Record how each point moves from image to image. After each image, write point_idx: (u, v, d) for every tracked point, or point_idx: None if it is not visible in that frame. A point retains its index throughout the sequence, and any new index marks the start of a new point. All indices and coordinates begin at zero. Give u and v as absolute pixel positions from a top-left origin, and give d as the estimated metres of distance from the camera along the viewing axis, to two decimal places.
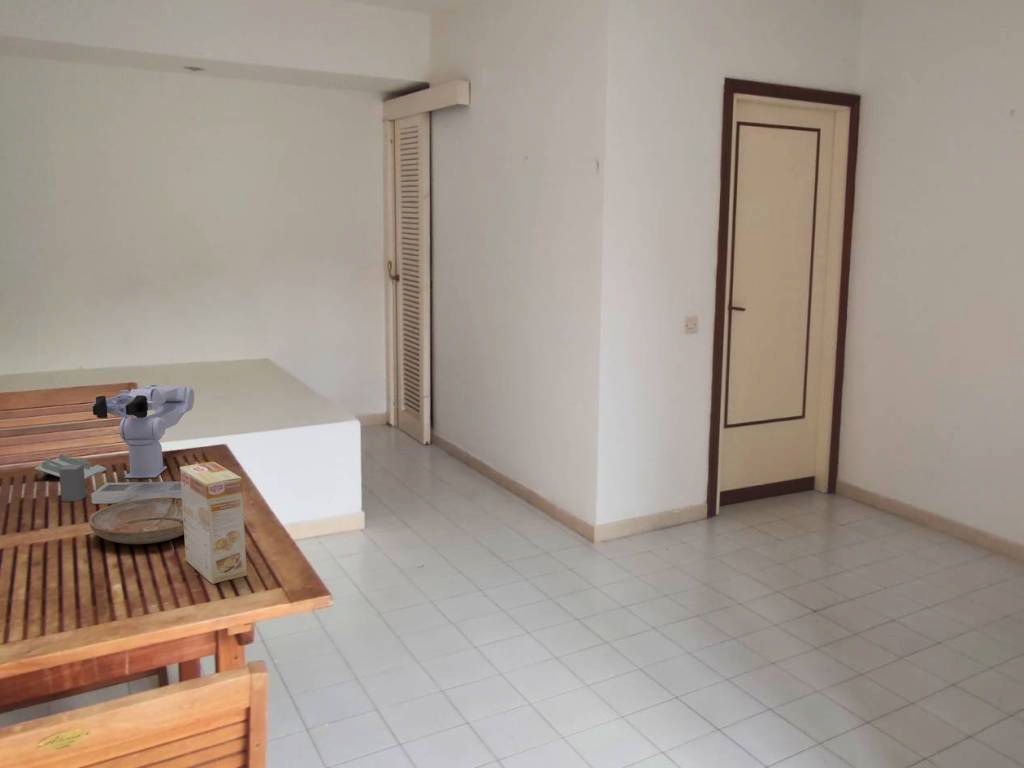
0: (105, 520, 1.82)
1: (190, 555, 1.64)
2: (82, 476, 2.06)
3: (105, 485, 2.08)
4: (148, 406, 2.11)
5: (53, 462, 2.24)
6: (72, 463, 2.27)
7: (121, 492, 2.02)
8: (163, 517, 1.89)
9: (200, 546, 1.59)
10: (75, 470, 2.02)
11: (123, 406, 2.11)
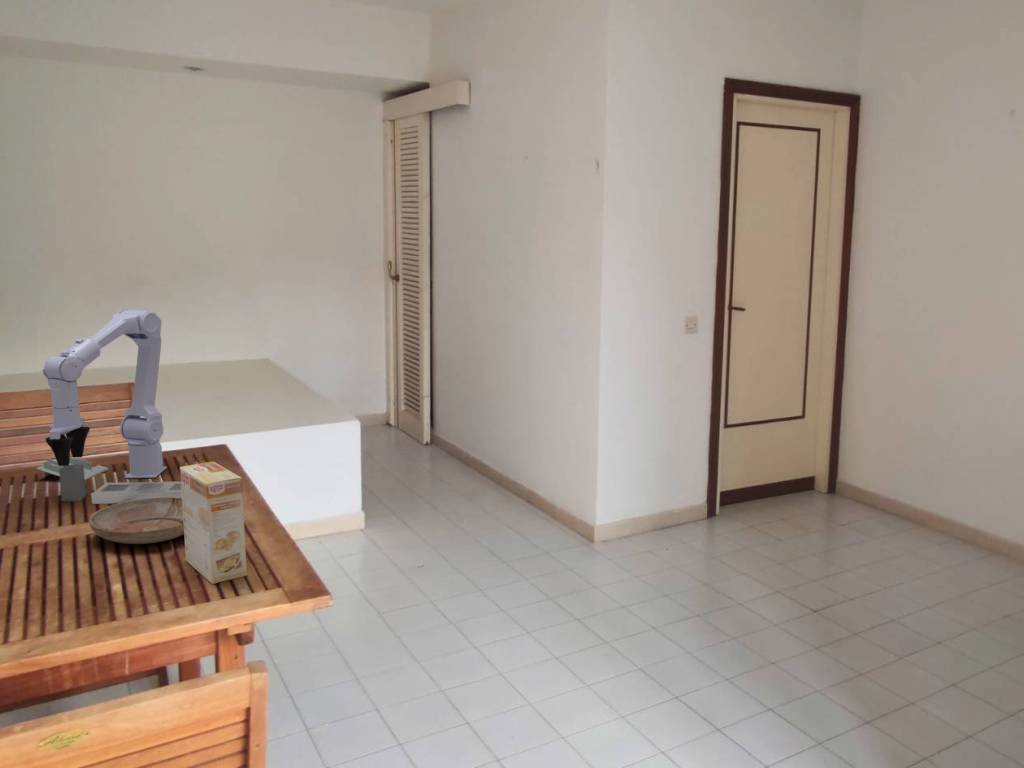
0: (105, 519, 1.82)
1: (190, 555, 1.64)
2: (82, 476, 2.06)
3: (105, 485, 2.08)
4: None
5: (55, 462, 2.24)
6: (74, 463, 2.27)
7: (121, 492, 2.02)
8: (163, 517, 1.89)
9: (200, 546, 1.59)
10: (75, 470, 2.02)
11: (67, 432, 2.02)
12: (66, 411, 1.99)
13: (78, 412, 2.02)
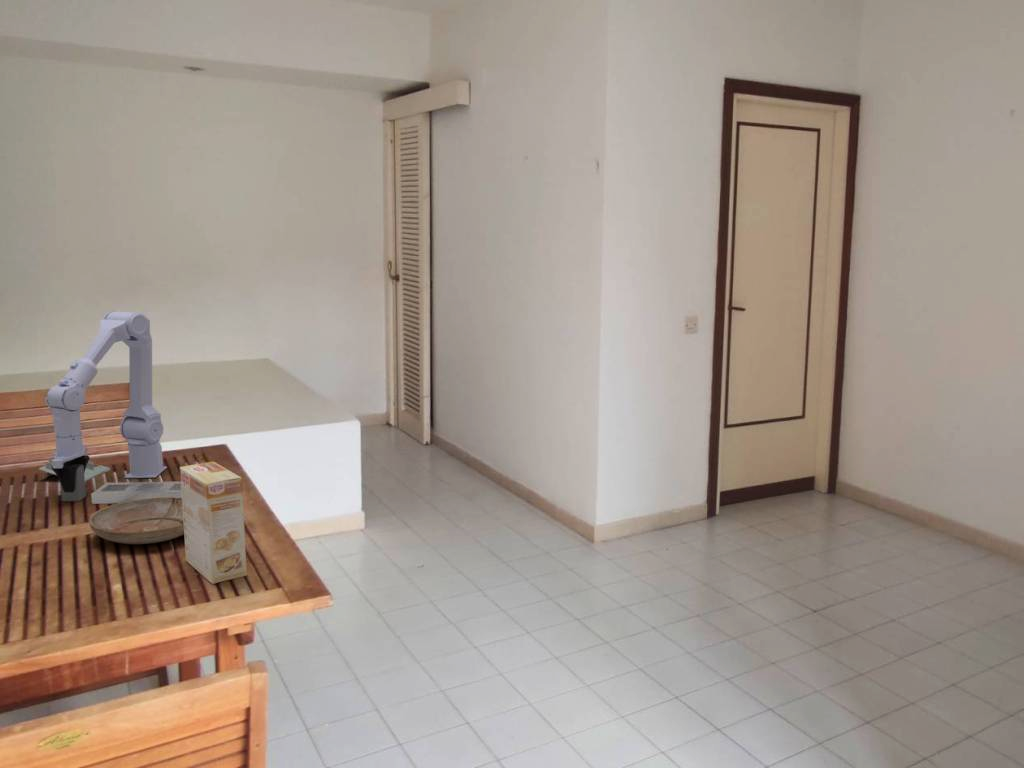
0: (105, 519, 1.82)
1: (190, 555, 1.64)
2: (82, 476, 2.06)
3: (105, 485, 2.08)
4: None
5: None
6: None
7: (121, 492, 2.02)
8: (164, 517, 1.89)
9: (200, 546, 1.59)
10: None
11: (70, 460, 2.04)
12: (69, 440, 2.00)
13: (80, 440, 2.03)
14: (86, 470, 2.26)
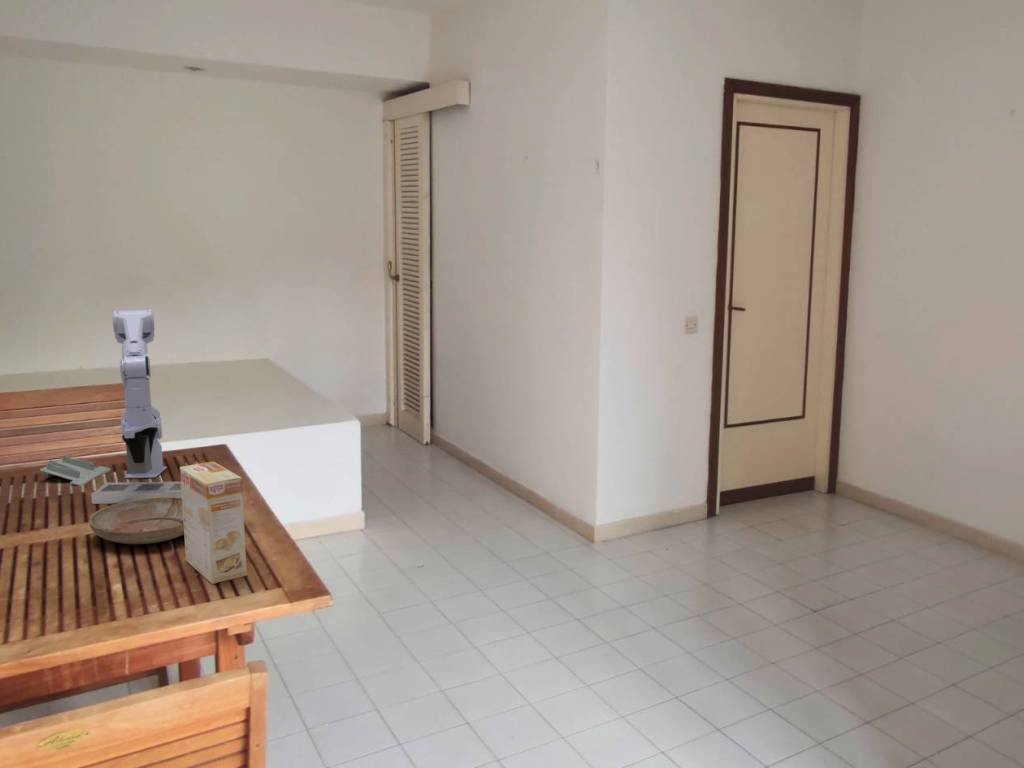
0: (105, 520, 1.82)
1: (190, 555, 1.64)
2: (148, 448, 2.06)
3: (105, 485, 2.08)
4: None
5: (57, 464, 2.23)
6: (76, 464, 2.26)
7: (121, 492, 2.02)
8: (164, 517, 1.89)
9: (200, 546, 1.59)
10: None
11: (139, 431, 2.03)
12: (139, 410, 2.00)
13: (150, 411, 2.03)
14: (87, 471, 2.25)
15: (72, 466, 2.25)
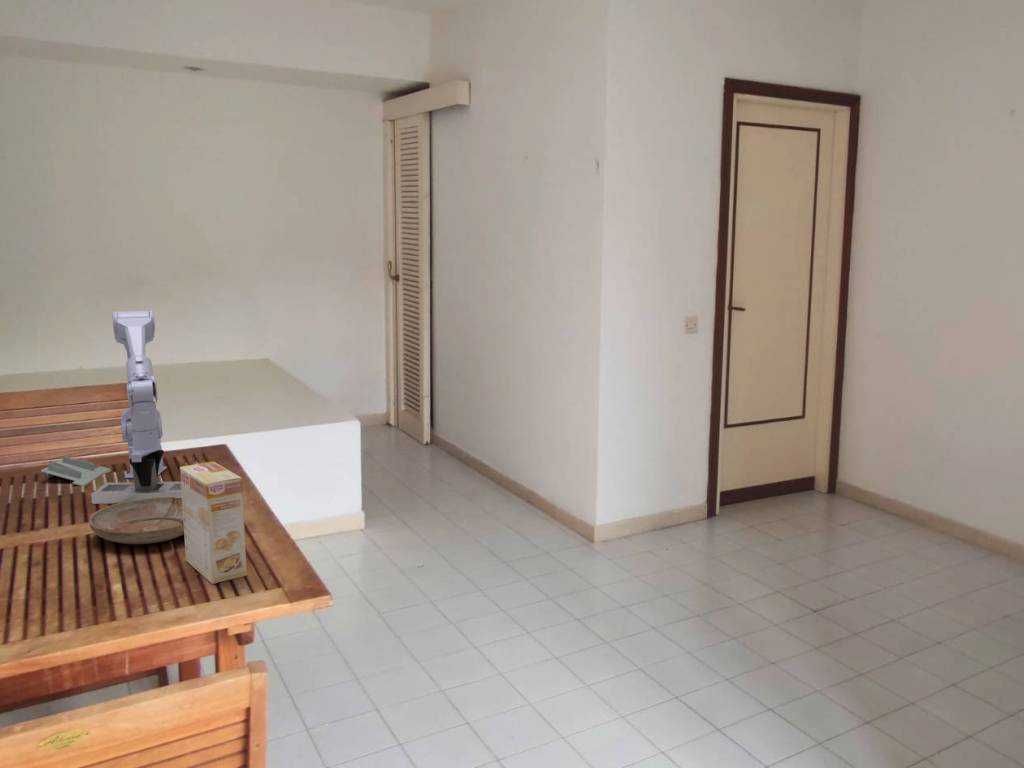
0: (105, 519, 1.82)
1: (190, 555, 1.64)
2: (154, 471, 2.07)
3: (105, 485, 2.08)
4: None
5: (58, 464, 2.22)
6: (76, 465, 2.26)
7: (121, 492, 2.02)
8: (164, 517, 1.89)
9: (200, 546, 1.59)
10: None
11: (146, 454, 2.05)
12: (146, 434, 2.01)
13: (157, 435, 2.04)
14: (88, 471, 2.25)
15: (72, 467, 2.25)
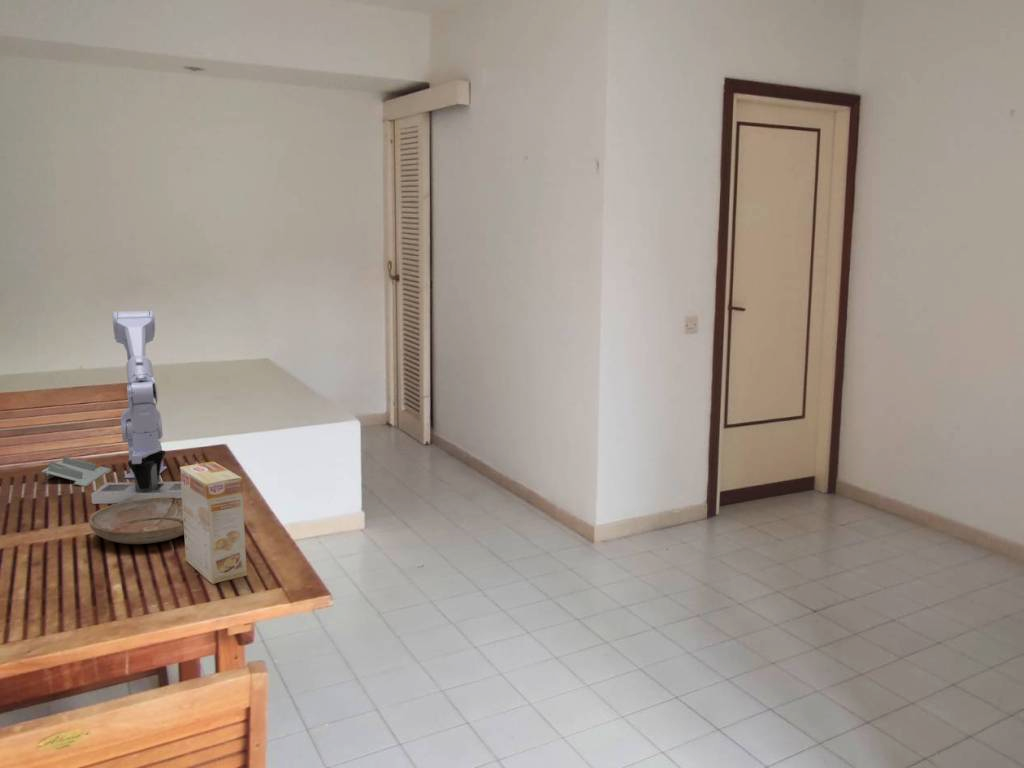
0: (105, 519, 1.82)
1: (190, 555, 1.64)
2: (155, 475, 2.07)
3: (105, 485, 2.08)
4: None
5: (58, 465, 2.22)
6: (76, 465, 2.25)
7: (121, 492, 2.02)
8: (164, 517, 1.89)
9: (200, 546, 1.59)
10: None
11: None
12: (146, 435, 2.02)
13: (157, 436, 2.04)
14: (88, 471, 2.24)
15: (73, 467, 2.24)
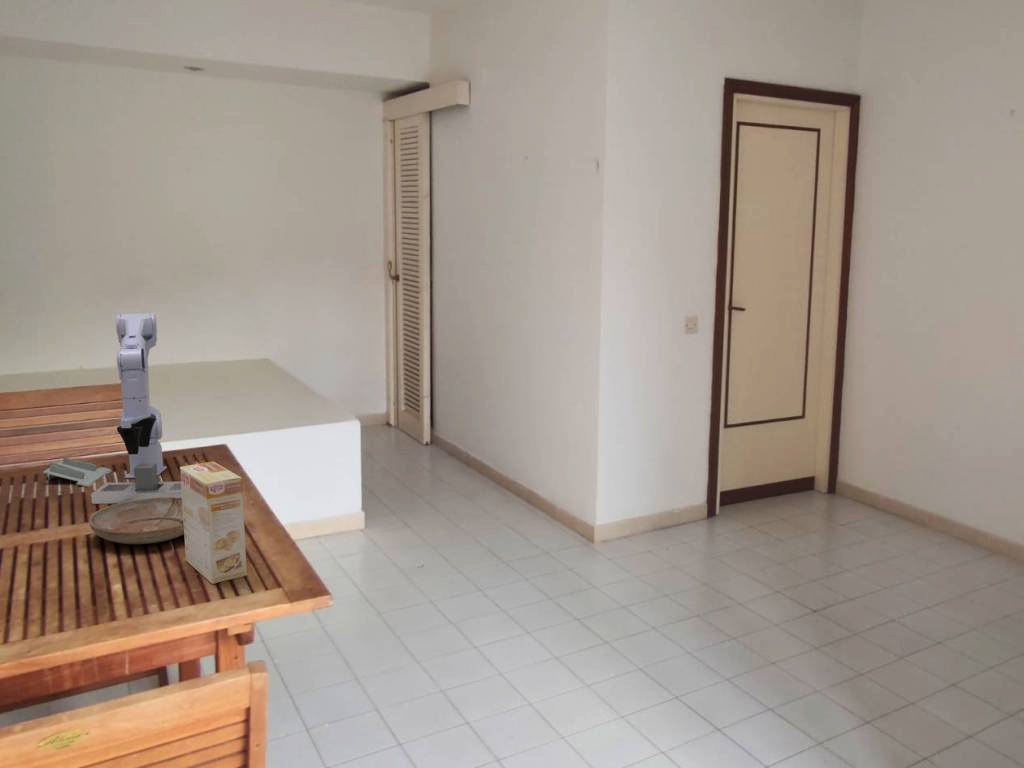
0: (105, 519, 1.82)
1: (190, 555, 1.64)
2: (155, 475, 2.07)
3: (105, 485, 2.08)
4: None
5: (59, 465, 2.21)
6: (77, 466, 2.25)
7: (121, 492, 2.02)
8: (164, 517, 1.89)
9: (200, 546, 1.59)
10: (150, 469, 2.04)
11: None
12: (136, 401, 2.06)
13: (146, 402, 2.08)
14: (89, 472, 2.24)
15: (73, 468, 2.24)
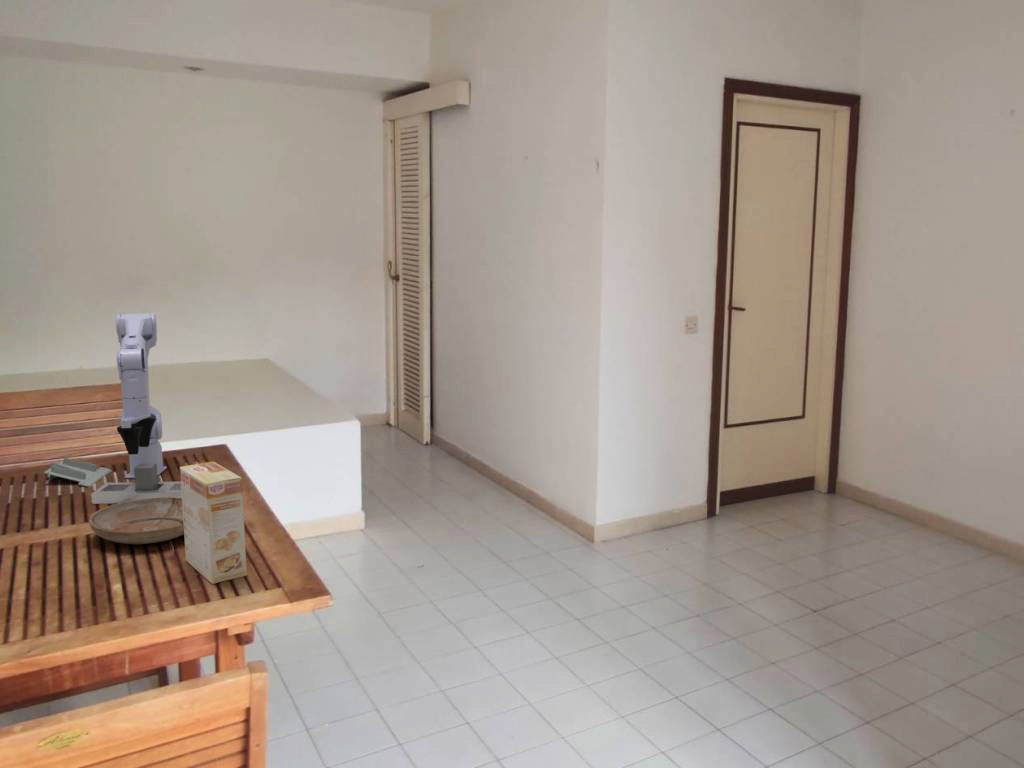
0: (105, 519, 1.82)
1: (190, 555, 1.64)
2: (155, 475, 2.07)
3: (105, 485, 2.08)
4: None
5: (59, 466, 2.21)
6: (77, 466, 2.24)
7: (121, 492, 2.02)
8: (164, 517, 1.89)
9: (200, 546, 1.59)
10: (150, 469, 2.04)
11: None
12: (136, 401, 2.06)
13: (146, 402, 2.08)
14: (90, 472, 2.24)
15: (74, 468, 2.23)
